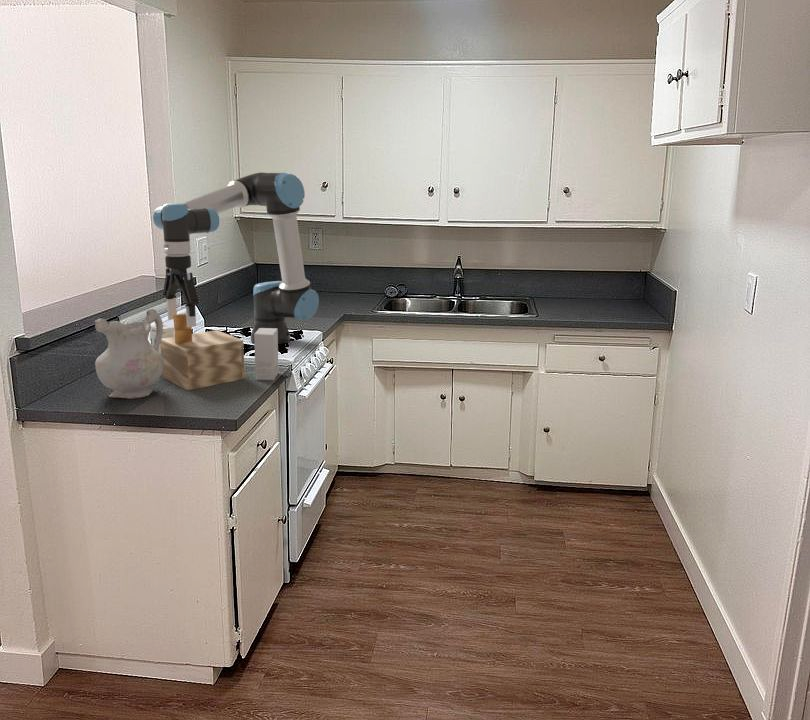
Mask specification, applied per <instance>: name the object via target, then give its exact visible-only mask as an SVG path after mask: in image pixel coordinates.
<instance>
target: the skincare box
mask: <svg viewBox="0 0 810 720" xmlns="http://www.w3.org/2000/svg"><path fill="white" fill-rule="evenodd" d="M254 342H255V344H254V370H255V371H254V372H255V373H254V374H255V377H254V378H255V381H256V380H257V381H275V379H276V378H277V376H278V374H279V345H278V329H277V328H259V329H258V330H257V331H256V333H255V334H254Z"/></svg>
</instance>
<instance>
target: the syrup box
mask: <svg viewBox="0 0 810 720" xmlns="http://www.w3.org/2000/svg"><path fill="white" fill-rule="evenodd" d="M155 335H156V325H155V326H151V329H150V332H149V336H150V337H149V339H150V346H151V347H152V348H153V344H154V338H155ZM169 337H175V332H174V326H171V325H168V324H163V333H162V339H163V338H169ZM158 350H159V353H160V354H161V347H160V344H159V349H158Z"/></svg>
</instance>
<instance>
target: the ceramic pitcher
mask: <svg viewBox="0 0 810 720" xmlns="http://www.w3.org/2000/svg"><path fill="white" fill-rule="evenodd" d="M157 311H158V310H156V309H154V308H151V309H147V310H146V316H145V317H144V319H143V320H142V321H140V320H139V321H131V322H129V323H126V324H125V323H123V322H120V321H117V320H113V321H109V322H108V321H107V320H106V319H105V318H104V319H103V318H97V319H95V320H94V324H95V325H94V326H95V330H96V332H97V333H101V334H104V335H105V337H106V339H107V343H108V345H107V348H106V349H105V350H104V351H103V353H101V354H100V355H99V356H98V357H97V358H96V359H95V364H94V366H95V372H96V376H97V377H98V379H99V381H100V382H101V383H102V385H103V386H104V387H106V388H108V389H111V390H113V391H112V393H110V394H109V395H108V397H109V398H117V399H118V398H121V399H128V400H133V399H140V398H146V397H145V396H147V397H148V396H149V395H151V394H152V393H153V392H154V391H153V389H152V388H151V387H152V386H154V385H156V384H157V383H158V381H159V380H160V379H161V377H162V376H163V370H164V360H163V357H162V355H161V354H160V353H159V350H158V349H159V344H160V342H161V339H162V333H163V325H164V324H163V323H164V322H163V319H162V317H161V315H159V313H158V312H157ZM152 323H155V326H156V335H155V338H154V344H153V348H152V347H151V344H150V343H149V336H150V329H151V327H152Z"/></svg>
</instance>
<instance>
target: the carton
mask: <svg viewBox="0 0 810 720" xmlns="http://www.w3.org/2000/svg"><path fill="white" fill-rule="evenodd" d="M160 347H161V355H162V357H163V360H164V370H163V373H162V378H163V379H165V380H167V381H169V382H171V383H173V384H174V385H177V386H178V387H179V388H182V389H184V390H186V391H192V390H196V389H201V388H206V387H211V386H216V385H221V384H226V383H231V382H236V381H240V380H241V381H242V380H246V373H245V371H246V370H245V354H244V353H245V352H244V351H245V350H244V342H243V343H239V344H233V345H227V346H221V347H215V348H209V349H203V350H197V351H191V352H185V353H184V352H182V351H180V350H178V349H176V348H173V347H171V346H169V345H167V344H165V343H163V342H160Z"/></svg>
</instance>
